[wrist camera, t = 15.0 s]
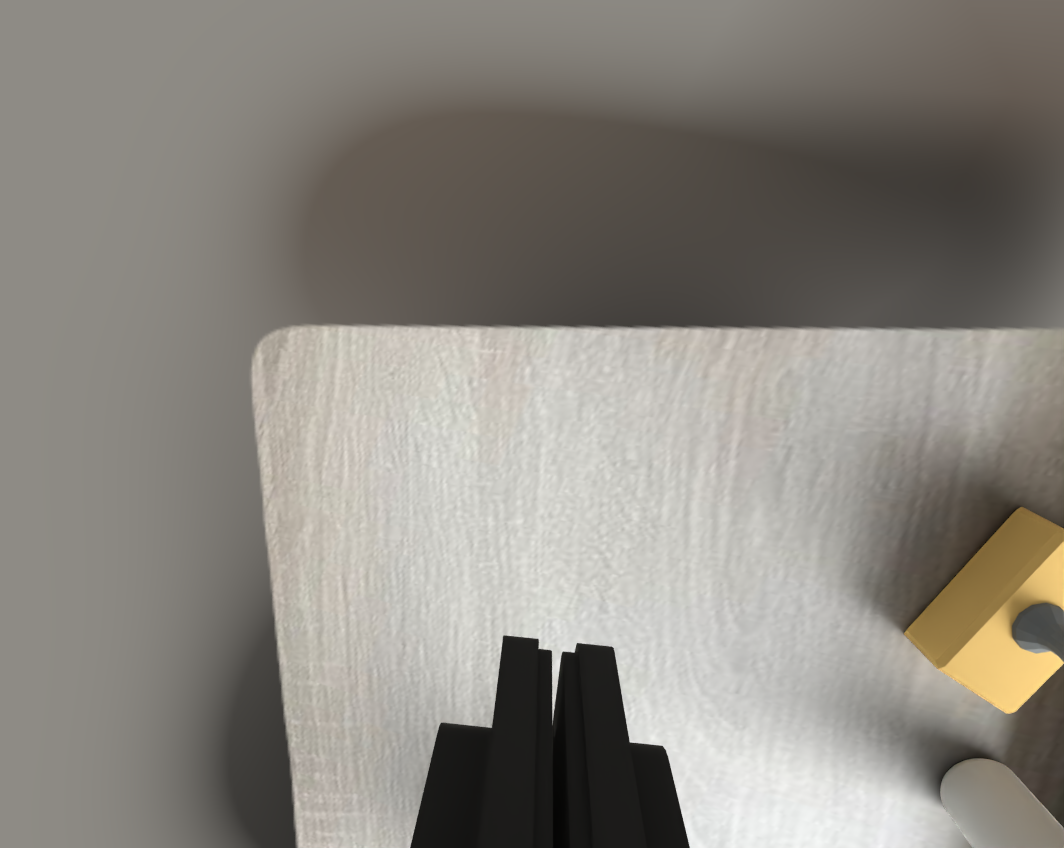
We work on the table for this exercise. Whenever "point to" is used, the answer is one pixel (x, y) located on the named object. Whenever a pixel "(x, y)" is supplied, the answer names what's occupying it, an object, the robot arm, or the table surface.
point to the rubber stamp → (1001, 614)
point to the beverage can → (997, 808)
